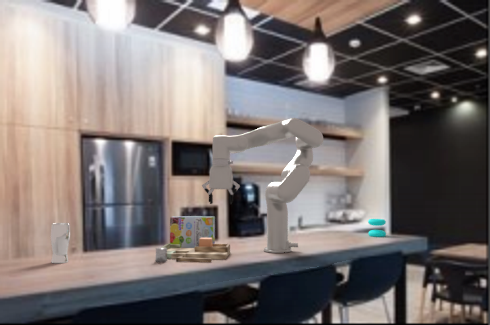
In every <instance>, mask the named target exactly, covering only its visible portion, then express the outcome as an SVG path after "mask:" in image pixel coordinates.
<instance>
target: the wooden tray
mask: <svg viewBox="0 0 490 325" xmlns="http://www.w3.org/2000/svg"><path fill="white" fill-rule="evenodd" d="M159 248H167V260H168V259H172V260H174V259H175V260H176V258H177V257H179V256H184V258H212V260H226V259H228V257H229V256H230V254H231V243H215V244H213V247H195V248H180V245H178V244H170V242H169V243H166V244H164V245H163V246H160V247H159ZM227 256H228V257H227Z"/></svg>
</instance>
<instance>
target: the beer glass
mask: <svg viewBox="0 0 490 325" xmlns="http://www.w3.org/2000/svg"><path fill="white" fill-rule="evenodd" d="M70 239H71V225H70V223H69V222H55V223H54V222H53V223H51V229H50V244H51V249H52V250H51V251H52V257H51V264H55V265H56V264H65V263H68V262H69V257H68V250H69V244H70Z"/></svg>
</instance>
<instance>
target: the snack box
mask: <svg viewBox="0 0 490 325" xmlns="http://www.w3.org/2000/svg"><path fill="white" fill-rule="evenodd" d="M215 219H216V217H215V216H211V215H210V216H203V215H202V216H201V215H197V216H196V215H191V216H190V215H188V216H186V215H185V216H179V215H178V216H170V220H169V221H170V222H169V225H170V226H169V229H170V230H169V243H170V244H178V245H180V248H195V247H199V239H200V238H213V244H216V242H215V240H216V237H215V236H216V232H215V230H216V229H215V228H216V222H215V221H216V220H215Z"/></svg>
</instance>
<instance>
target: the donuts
mask: <svg viewBox="0 0 490 325" xmlns="http://www.w3.org/2000/svg"><path fill="white" fill-rule="evenodd" d="M367 222H368V224H369V225H370V226H375V227H382V226H385V225H386V223H387V221H386V220H385V219H383V218H369V219H368V220H367ZM368 236H369V237H374V238H384V237H386V236H387V233H386V231H385V230H383V229H371V230H369V231H368Z"/></svg>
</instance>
